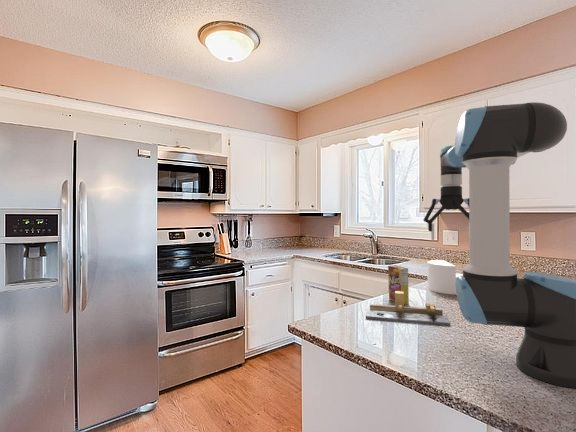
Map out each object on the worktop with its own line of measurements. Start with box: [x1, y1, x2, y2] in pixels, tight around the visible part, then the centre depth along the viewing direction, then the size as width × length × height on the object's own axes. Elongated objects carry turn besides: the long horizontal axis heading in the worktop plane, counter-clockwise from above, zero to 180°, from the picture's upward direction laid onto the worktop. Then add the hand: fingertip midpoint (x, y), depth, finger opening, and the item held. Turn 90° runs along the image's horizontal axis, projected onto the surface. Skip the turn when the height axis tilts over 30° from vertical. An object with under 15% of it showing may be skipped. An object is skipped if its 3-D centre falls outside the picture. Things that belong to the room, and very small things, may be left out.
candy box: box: [387, 264, 410, 305], centre depth 141 cm, size 9×4×15 cm, turn 17°
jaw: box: [394, 291, 405, 315], centre depth 123 cm, size 9×3×8 cm, turn 163°
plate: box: [365, 309, 451, 327], centre depth 119 cm, size 8×28×1 cm, turn 73°
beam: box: [369, 302, 444, 317], centre depth 122 cm, size 9×26×4 cm, turn 73°
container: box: [426, 259, 463, 296], centre depth 162 cm, size 20×20×13 cm
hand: (451, 240), depth 129 cm, fingers open, 13 cm apart
